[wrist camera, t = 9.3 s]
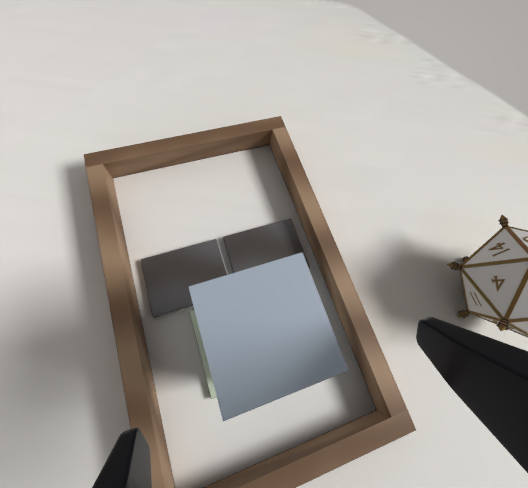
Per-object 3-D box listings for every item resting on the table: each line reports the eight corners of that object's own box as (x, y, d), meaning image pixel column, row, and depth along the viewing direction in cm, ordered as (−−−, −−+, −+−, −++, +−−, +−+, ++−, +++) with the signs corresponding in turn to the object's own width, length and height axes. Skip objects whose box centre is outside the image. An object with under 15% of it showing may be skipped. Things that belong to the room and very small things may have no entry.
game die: (426, 300, 27) (417, 256, 20) (495, 238, 27) (512, 169, 19) (531, 385, 21) (574, 367, 14) (623, 307, 21) (719, 245, 13)
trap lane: (398, 421, 20) (416, 430, 18) (161, 531, 17) (152, 555, 15) (277, 131, 27) (280, 116, 25) (95, 169, 24) (83, 154, 22)
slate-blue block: (289, 356, 20) (348, 370, 10) (228, 379, 19) (223, 421, 9) (268, 296, 22) (302, 252, 11) (210, 315, 21) (188, 286, 10)
